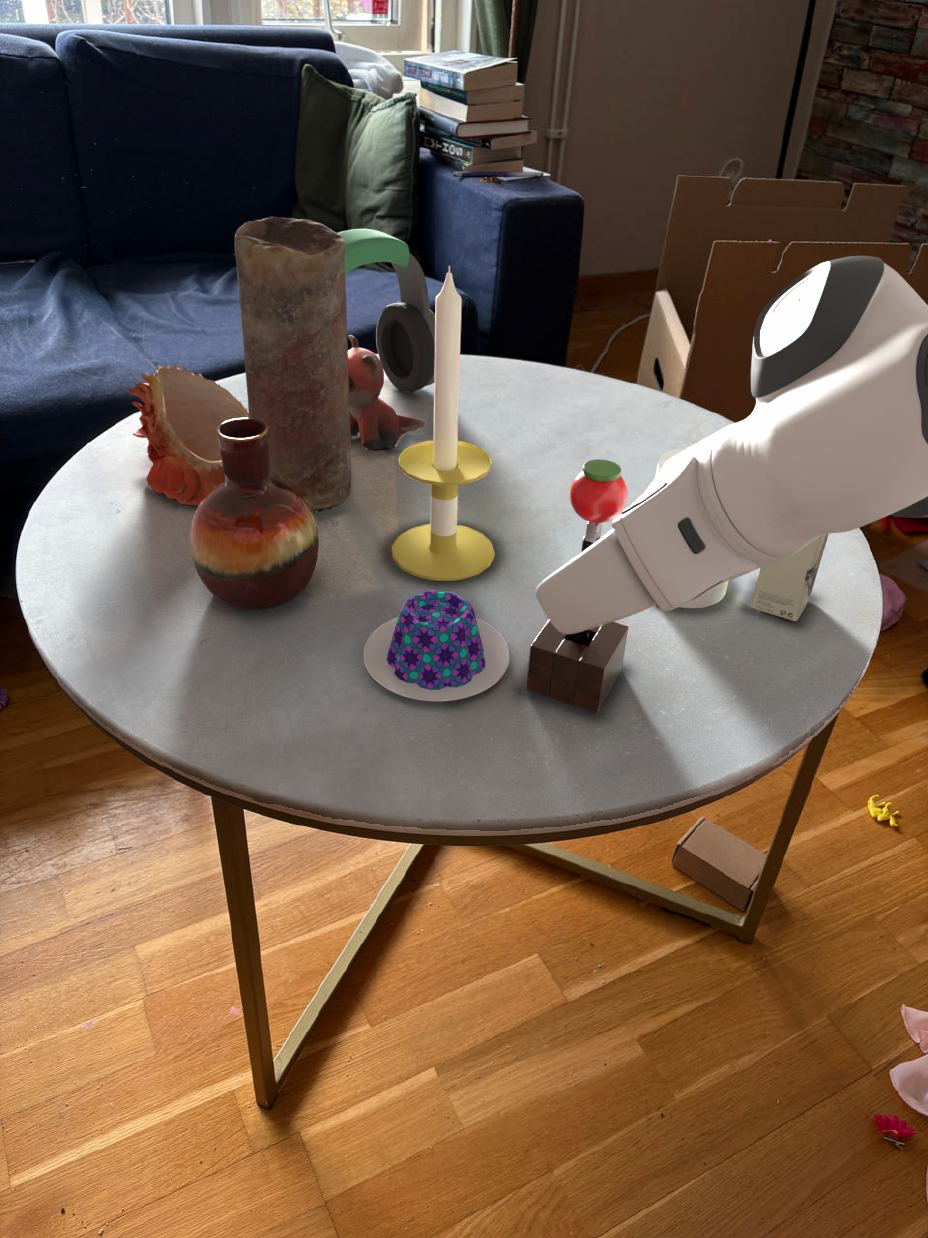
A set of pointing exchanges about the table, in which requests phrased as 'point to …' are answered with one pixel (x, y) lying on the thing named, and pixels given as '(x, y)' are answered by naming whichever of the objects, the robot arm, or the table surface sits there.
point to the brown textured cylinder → (298, 352)
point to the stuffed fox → (373, 403)
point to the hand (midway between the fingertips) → (580, 577)
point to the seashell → (184, 431)
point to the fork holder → (577, 665)
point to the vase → (252, 526)
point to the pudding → (436, 650)
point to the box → (789, 582)
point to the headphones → (398, 310)
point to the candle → (444, 468)
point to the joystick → (597, 505)
